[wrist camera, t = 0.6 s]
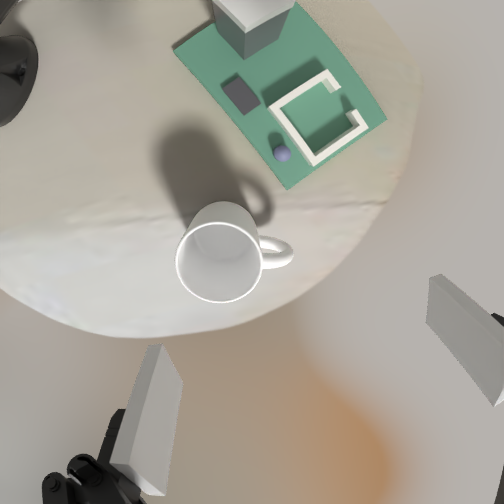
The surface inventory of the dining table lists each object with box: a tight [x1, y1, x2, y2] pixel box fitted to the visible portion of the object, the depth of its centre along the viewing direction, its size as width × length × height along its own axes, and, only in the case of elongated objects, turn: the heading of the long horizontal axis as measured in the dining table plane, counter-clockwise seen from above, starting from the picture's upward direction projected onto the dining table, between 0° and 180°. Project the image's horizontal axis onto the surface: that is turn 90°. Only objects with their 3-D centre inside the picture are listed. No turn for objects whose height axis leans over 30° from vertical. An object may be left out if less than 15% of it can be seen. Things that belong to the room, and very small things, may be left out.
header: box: [267, 69, 369, 166], centre depth 30 cm, size 8×8×2 cm
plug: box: [211, 0, 296, 60], centre depth 22 cm, size 5×6×11 cm
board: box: [173, 1, 387, 190], centre depth 29 cm, size 22×16×3 cm
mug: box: [175, 201, 294, 303], centre depth 32 cm, size 12×8×10 cm
